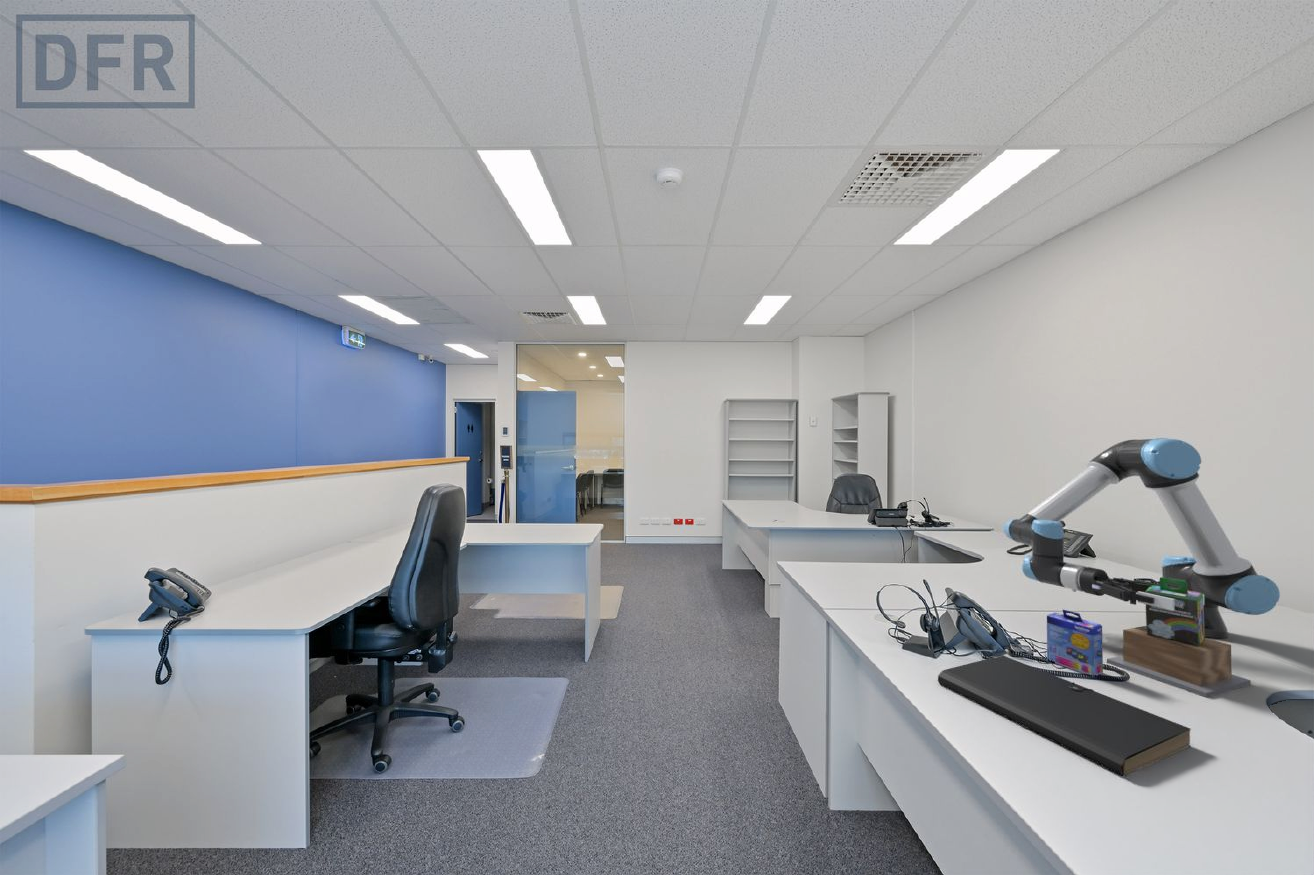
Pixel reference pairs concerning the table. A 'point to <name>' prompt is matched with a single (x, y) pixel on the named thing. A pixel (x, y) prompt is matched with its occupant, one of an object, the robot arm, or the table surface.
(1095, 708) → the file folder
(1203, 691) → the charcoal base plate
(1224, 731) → the table surface
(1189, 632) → the chalk box
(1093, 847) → the table surface
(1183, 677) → the walnut base brick
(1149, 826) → the table surface
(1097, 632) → the ink cartridge box
